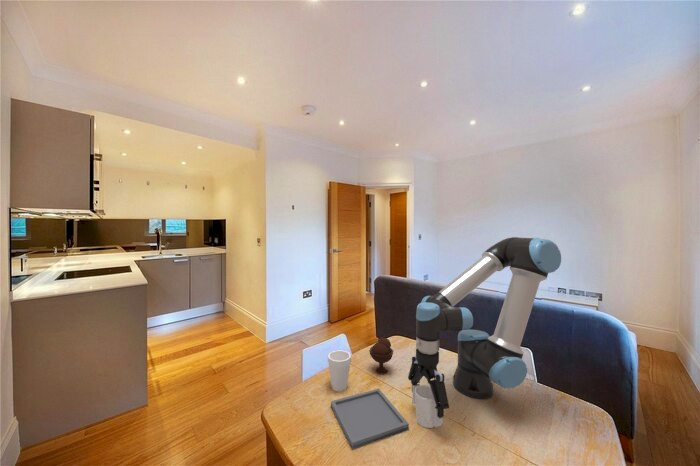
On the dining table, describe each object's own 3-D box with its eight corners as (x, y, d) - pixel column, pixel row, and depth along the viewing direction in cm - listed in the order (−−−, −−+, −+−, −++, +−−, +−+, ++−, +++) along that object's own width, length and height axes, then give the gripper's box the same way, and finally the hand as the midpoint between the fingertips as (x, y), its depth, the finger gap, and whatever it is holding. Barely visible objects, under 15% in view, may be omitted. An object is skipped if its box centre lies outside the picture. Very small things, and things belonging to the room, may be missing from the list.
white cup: (440, 431, 84) (440, 401, 84) (415, 427, 86) (415, 397, 85) (437, 414, 92) (437, 386, 92) (414, 411, 93) (414, 383, 93)
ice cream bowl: (376, 362, 127) (376, 331, 127) (397, 369, 121) (397, 337, 120) (364, 372, 118) (365, 339, 118) (386, 380, 112) (386, 346, 112)
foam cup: (323, 390, 105) (323, 358, 105) (333, 378, 113) (333, 348, 113) (345, 396, 101) (345, 363, 101) (354, 383, 110) (354, 352, 110)
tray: (378, 393, 103) (378, 388, 103) (408, 429, 85) (408, 423, 85) (330, 406, 95) (330, 401, 95) (352, 449, 77) (352, 442, 77)
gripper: (398, 337, 97) (398, 395, 98) (443, 369, 76) (442, 443, 76) (415, 334, 100) (414, 391, 101) (462, 364, 79) (461, 435, 79)
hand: (426, 413), depth 89 cm, fingers open, 11 cm apart
